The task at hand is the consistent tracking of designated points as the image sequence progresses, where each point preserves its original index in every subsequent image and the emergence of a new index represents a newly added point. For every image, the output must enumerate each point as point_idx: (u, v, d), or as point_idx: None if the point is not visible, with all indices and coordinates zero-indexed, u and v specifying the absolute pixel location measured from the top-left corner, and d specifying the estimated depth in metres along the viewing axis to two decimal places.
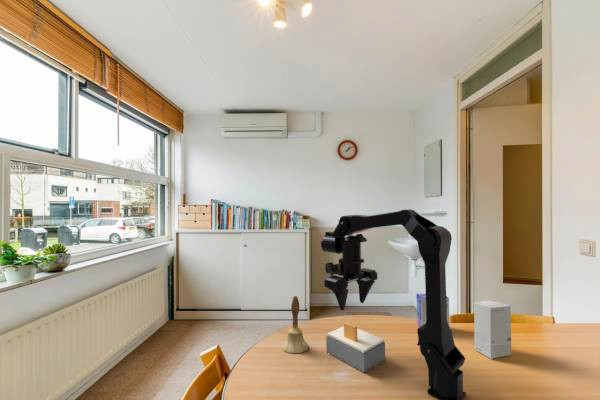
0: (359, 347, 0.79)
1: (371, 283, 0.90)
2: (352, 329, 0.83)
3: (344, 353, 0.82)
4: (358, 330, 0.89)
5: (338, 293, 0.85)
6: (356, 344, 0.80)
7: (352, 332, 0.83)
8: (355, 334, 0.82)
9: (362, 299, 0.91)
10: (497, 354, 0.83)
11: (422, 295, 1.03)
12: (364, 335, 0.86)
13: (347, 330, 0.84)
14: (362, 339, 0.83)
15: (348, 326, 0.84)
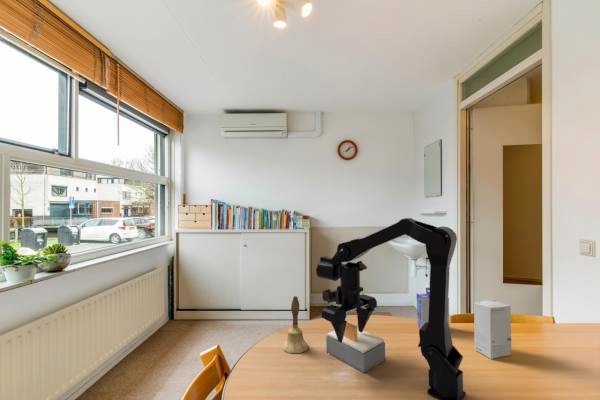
0: (359, 347, 0.79)
1: (370, 312, 0.86)
2: (352, 329, 0.83)
3: (344, 353, 0.82)
4: (358, 330, 0.89)
5: (336, 324, 0.80)
6: (356, 344, 0.80)
7: (352, 332, 0.83)
8: (355, 334, 0.82)
9: (361, 328, 0.86)
10: (497, 354, 0.83)
11: (422, 295, 1.03)
12: (364, 335, 0.86)
13: (347, 330, 0.84)
14: (362, 339, 0.83)
15: (348, 326, 0.84)
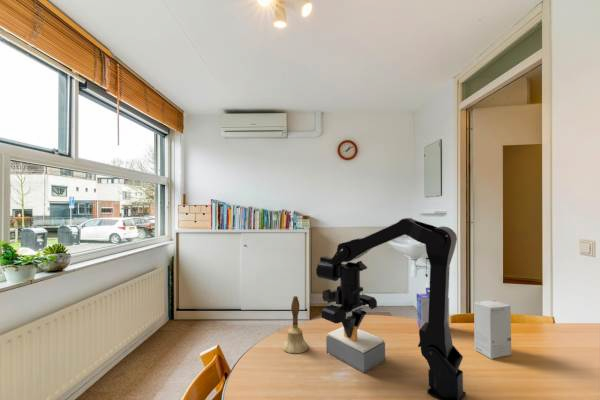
0: (359, 347, 0.79)
1: (362, 315, 0.83)
2: None
3: (344, 353, 0.82)
4: (358, 330, 0.89)
5: (345, 320, 0.83)
6: (356, 344, 0.80)
7: (352, 332, 0.83)
8: (355, 334, 0.82)
9: None
10: (497, 354, 0.83)
11: (422, 295, 1.03)
12: (364, 335, 0.86)
13: None
14: (362, 339, 0.83)
15: None
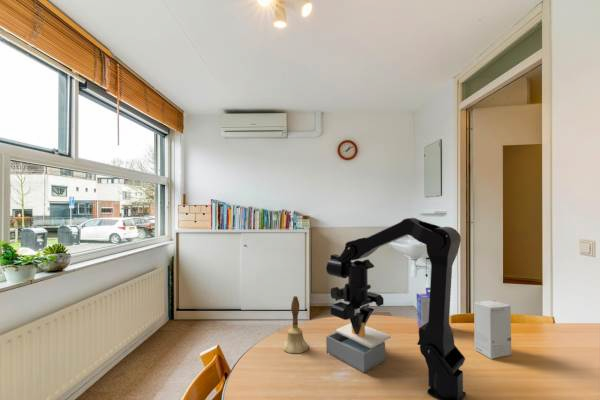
0: (367, 343, 0.81)
1: (370, 312, 0.85)
2: None
3: (344, 353, 0.82)
4: (365, 326, 0.91)
5: (353, 317, 0.85)
6: (364, 340, 0.83)
7: None
8: (363, 331, 0.85)
9: None
10: (497, 354, 0.83)
11: (422, 295, 1.03)
12: (371, 331, 0.88)
13: None
14: (370, 335, 0.86)
15: None
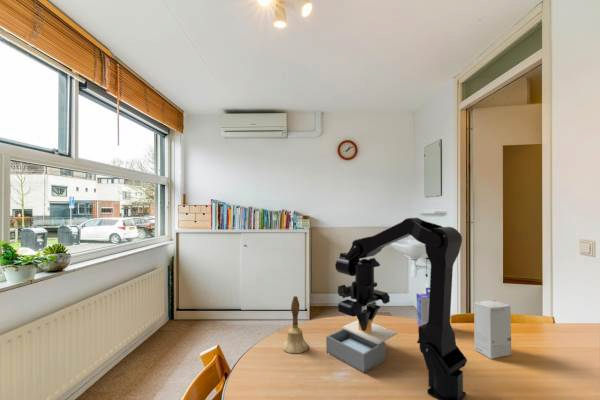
0: (374, 339, 0.83)
1: (376, 309, 0.88)
2: None
3: (344, 353, 0.82)
4: (371, 323, 0.94)
5: (360, 314, 0.87)
6: (371, 336, 0.85)
7: None
8: (370, 327, 0.87)
9: None
10: (497, 354, 0.83)
11: (422, 295, 1.03)
12: (377, 328, 0.90)
13: None
14: (376, 332, 0.88)
15: None
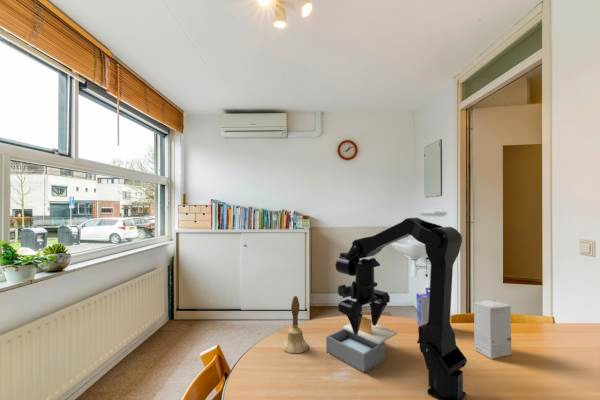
0: (374, 339, 0.83)
1: (384, 306, 0.90)
2: (367, 322, 0.87)
3: (344, 353, 0.82)
4: None
5: (352, 317, 0.85)
6: (371, 336, 0.85)
7: (366, 325, 0.87)
8: (370, 327, 0.87)
9: (374, 322, 0.91)
10: (497, 354, 0.83)
11: (422, 295, 1.03)
12: (378, 328, 0.90)
13: (362, 323, 0.88)
14: (376, 332, 0.88)
15: (363, 320, 0.88)
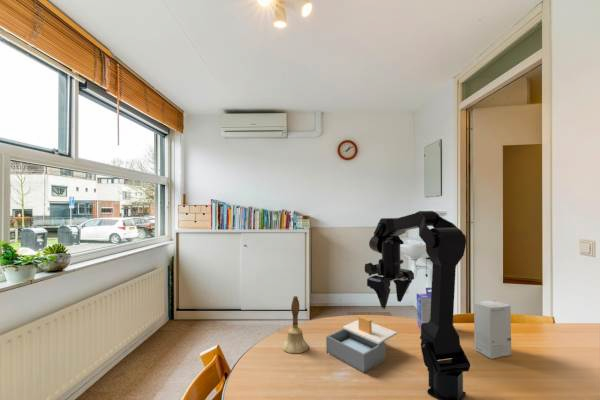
0: (374, 339, 0.83)
1: (409, 283, 0.94)
2: (367, 322, 0.87)
3: (344, 353, 0.82)
4: (372, 323, 0.94)
5: (380, 292, 0.89)
6: (371, 336, 0.85)
7: (366, 325, 0.87)
8: (370, 327, 0.87)
9: (400, 298, 0.95)
10: (497, 354, 0.83)
11: (422, 295, 1.03)
12: (378, 328, 0.90)
13: (362, 323, 0.88)
14: (376, 332, 0.88)
15: (363, 320, 0.88)
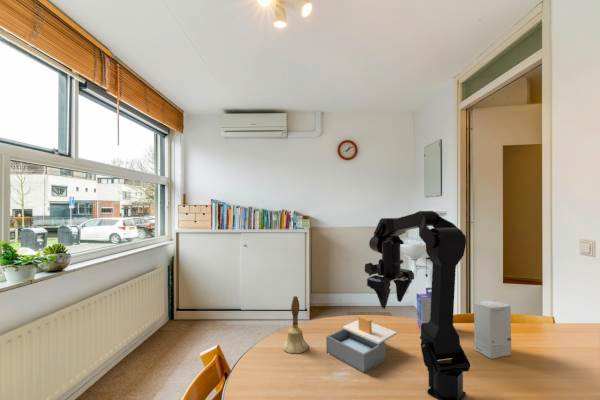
0: (374, 339, 0.83)
1: (409, 283, 0.94)
2: (367, 322, 0.87)
3: (344, 353, 0.82)
4: (372, 323, 0.94)
5: (380, 292, 0.89)
6: (371, 336, 0.85)
7: (366, 325, 0.87)
8: (370, 327, 0.87)
9: (400, 298, 0.95)
10: (497, 354, 0.83)
11: (422, 295, 1.03)
12: (378, 328, 0.90)
13: (362, 323, 0.88)
14: (376, 332, 0.88)
15: (363, 320, 0.88)
